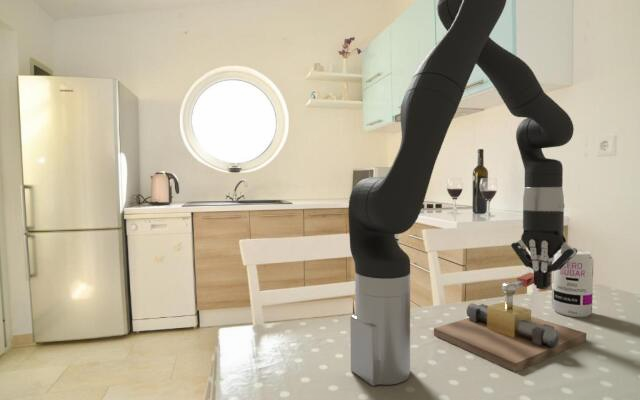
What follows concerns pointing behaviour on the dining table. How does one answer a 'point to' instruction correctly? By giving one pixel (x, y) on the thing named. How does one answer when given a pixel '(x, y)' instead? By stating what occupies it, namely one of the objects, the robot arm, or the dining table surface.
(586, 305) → the supplement can
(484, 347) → the valve board
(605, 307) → the dining table surface
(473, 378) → the dining table surface
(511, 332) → the pipe valve
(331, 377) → the dining table surface
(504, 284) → the valve lever
